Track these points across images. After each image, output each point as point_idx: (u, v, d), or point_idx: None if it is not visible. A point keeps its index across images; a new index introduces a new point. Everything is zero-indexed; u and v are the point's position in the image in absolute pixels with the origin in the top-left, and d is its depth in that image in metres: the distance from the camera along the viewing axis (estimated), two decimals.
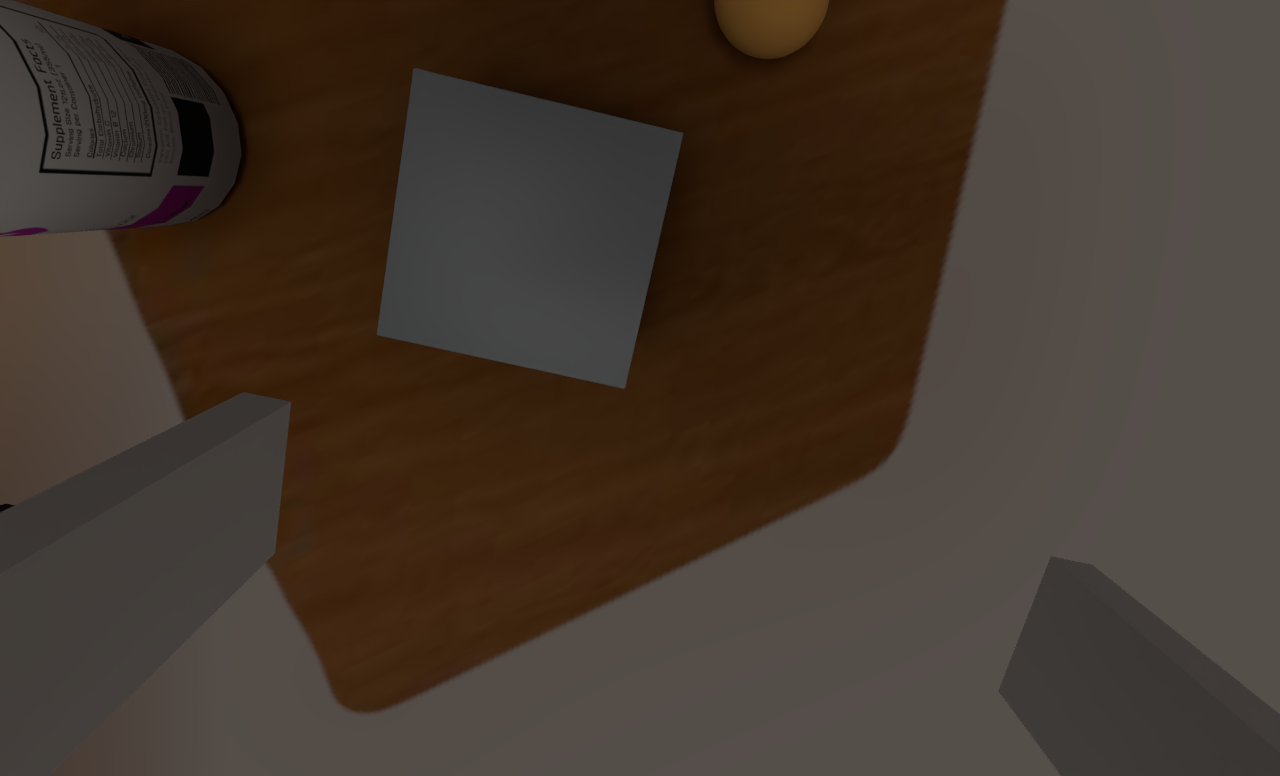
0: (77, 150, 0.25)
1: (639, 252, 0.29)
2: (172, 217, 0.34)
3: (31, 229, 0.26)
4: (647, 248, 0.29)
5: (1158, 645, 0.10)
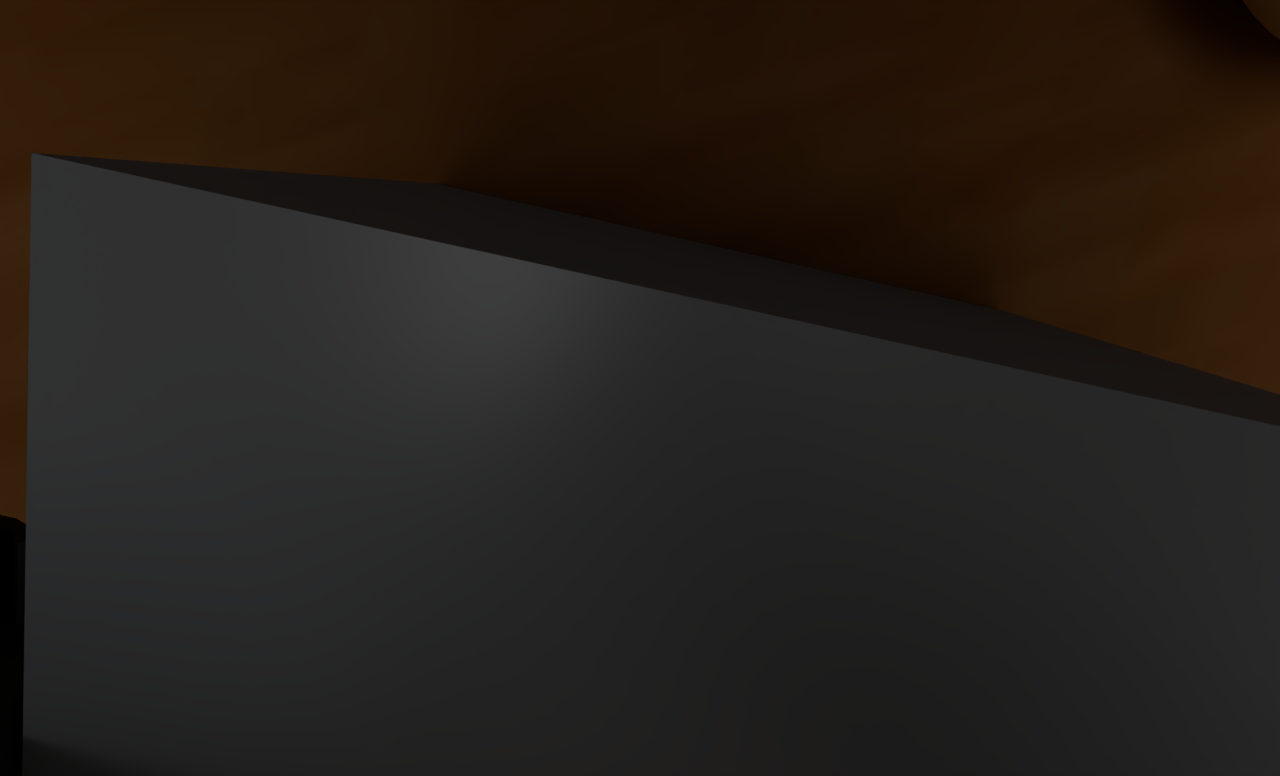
0: None
1: None
2: None
3: None
4: None
5: None
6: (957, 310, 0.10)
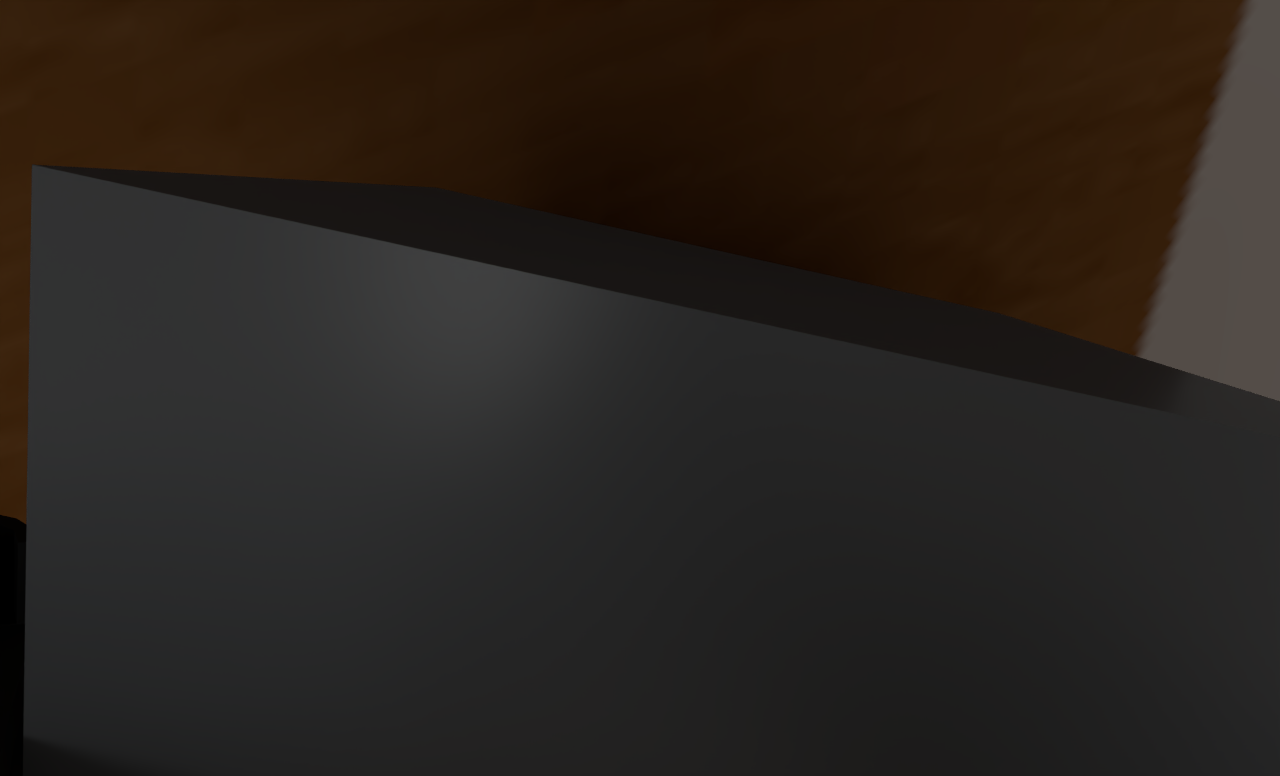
0: None
1: None
2: None
3: None
4: None
5: None
6: (955, 315, 0.10)
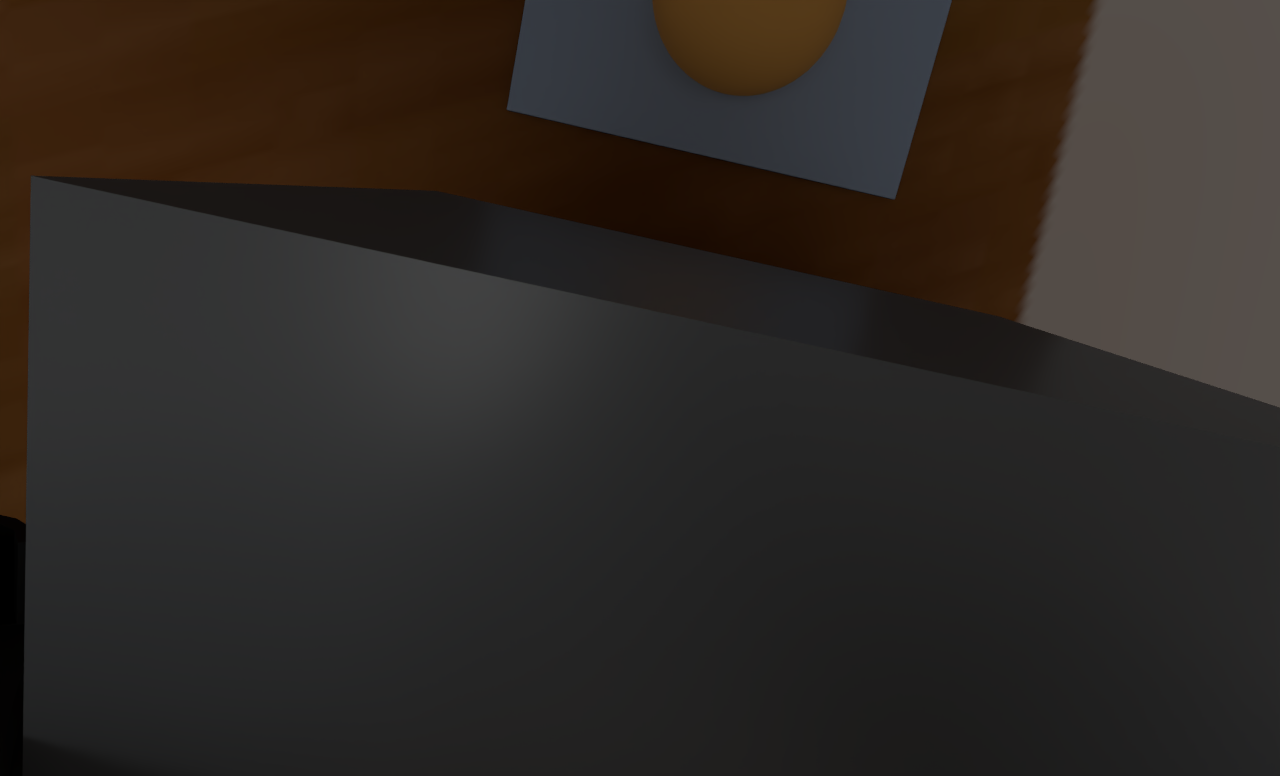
0: None
1: None
2: None
3: None
4: None
5: None
6: (954, 319, 0.10)
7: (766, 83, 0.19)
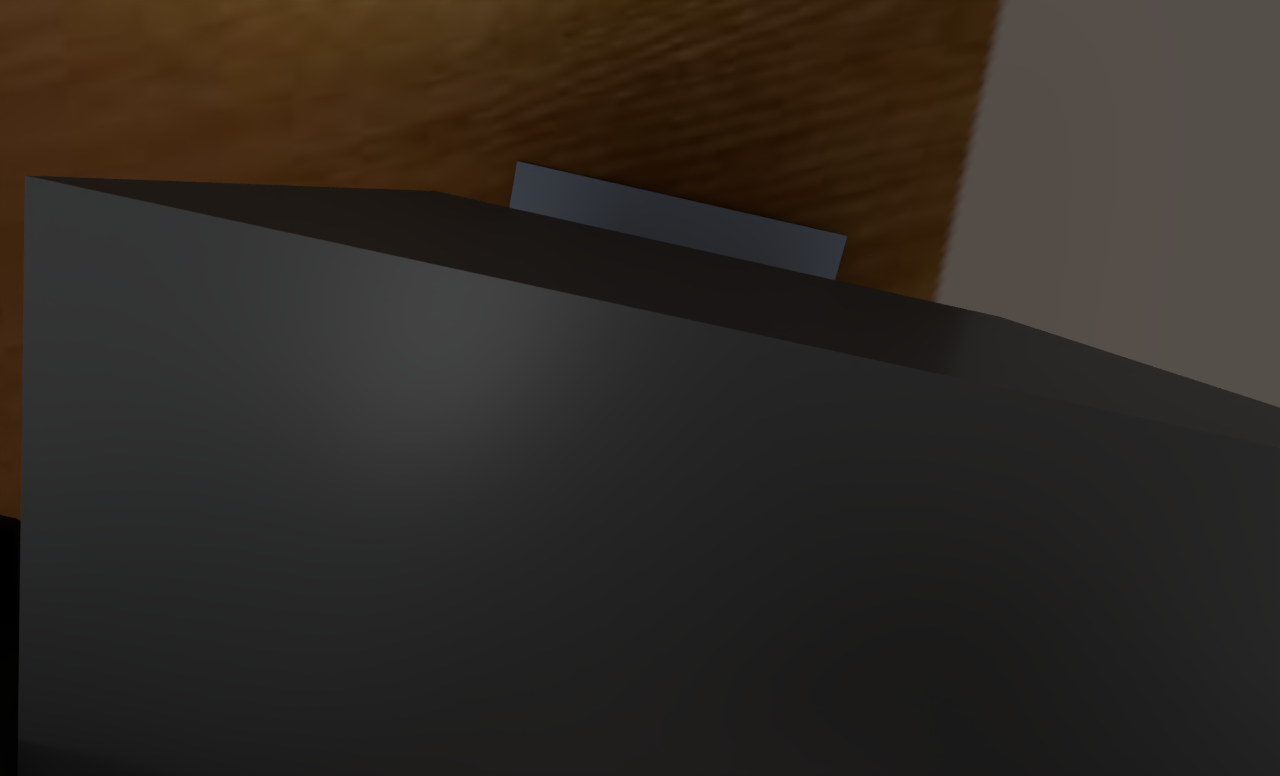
0: None
1: None
2: None
3: None
4: None
5: None
6: (956, 320, 0.10)
7: None
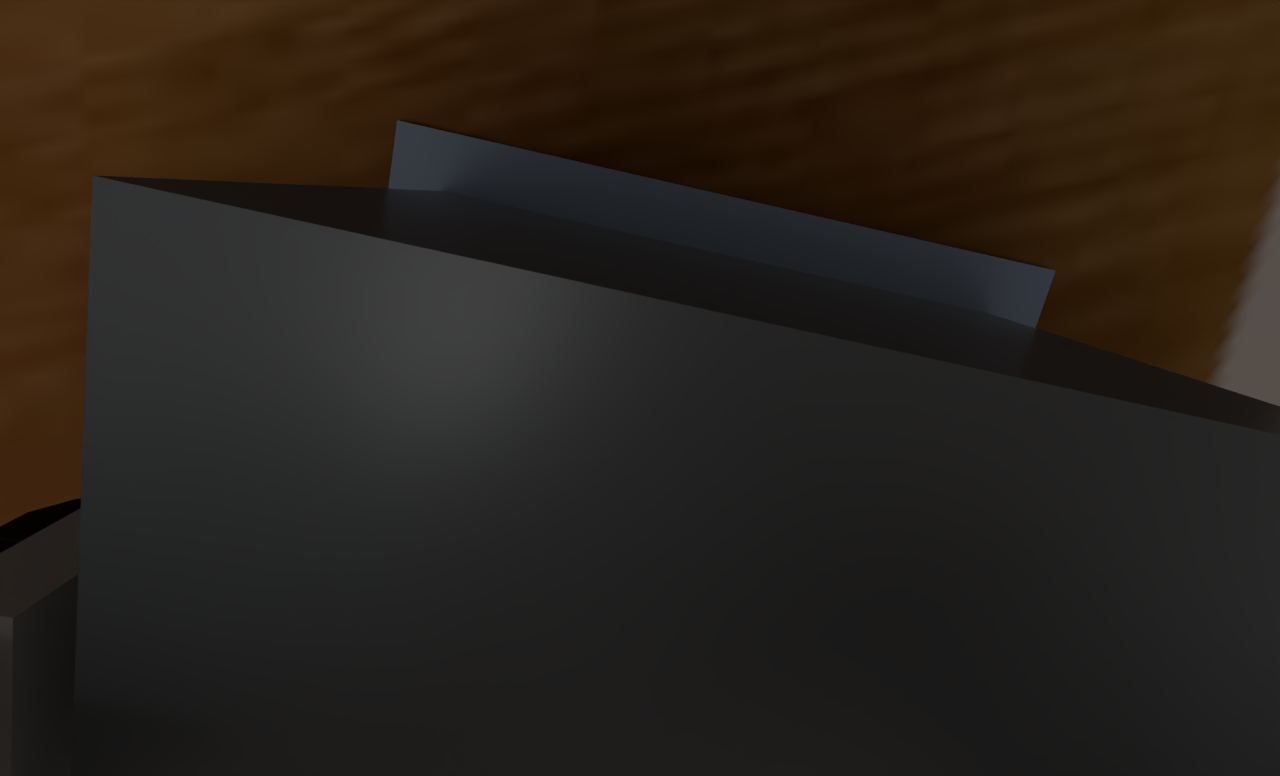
0: None
1: None
2: None
3: None
4: None
5: None
6: (939, 313, 0.10)
7: None
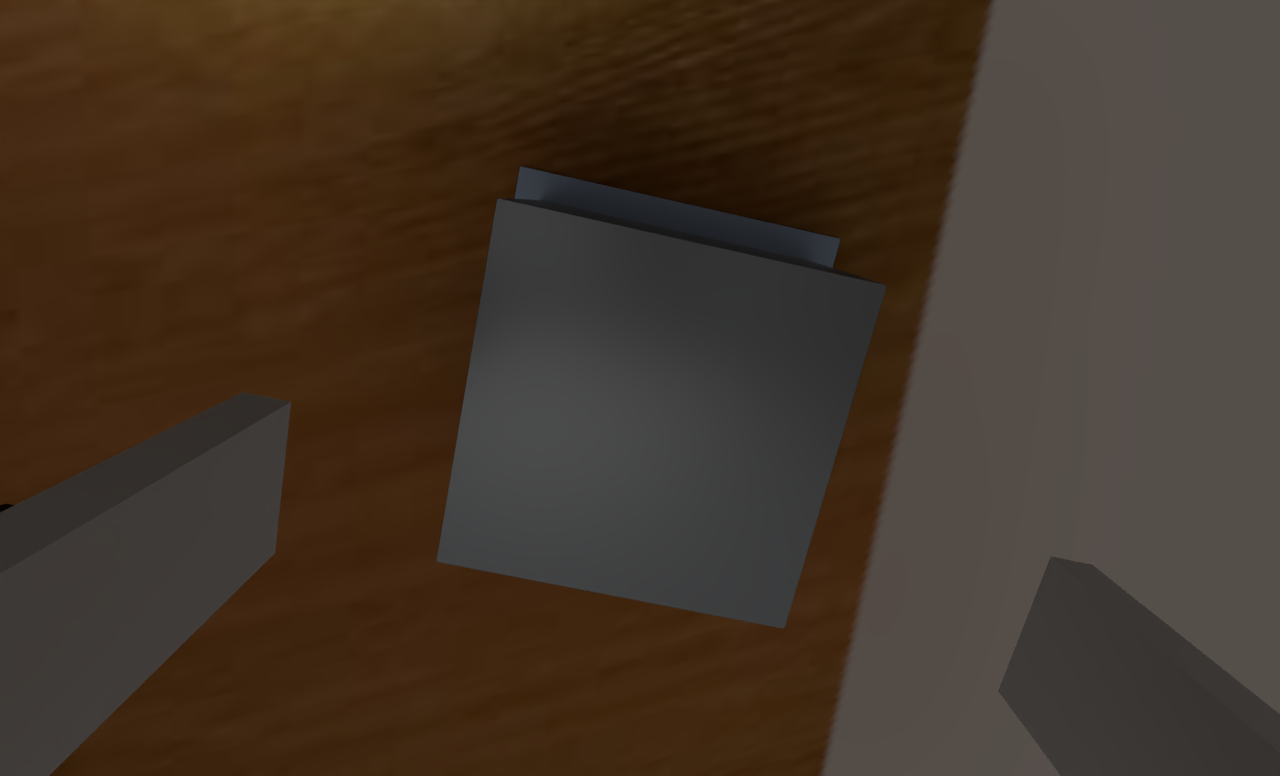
0: None
1: (814, 448, 0.20)
2: None
3: None
4: (825, 443, 0.20)
5: (1158, 645, 0.10)
6: (762, 252, 0.24)
7: None
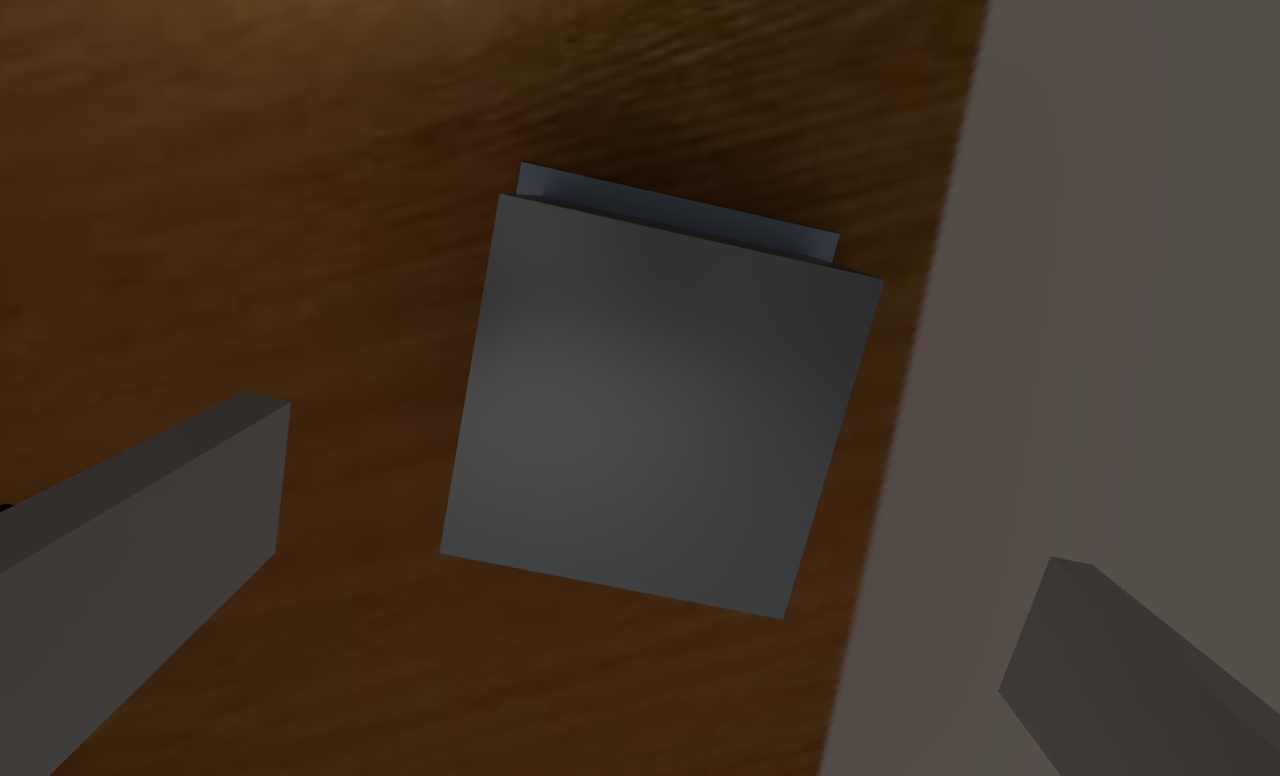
0: None
1: (813, 441, 0.20)
2: None
3: None
4: (824, 435, 0.20)
5: (1158, 645, 0.10)
6: (762, 247, 0.24)
7: None
